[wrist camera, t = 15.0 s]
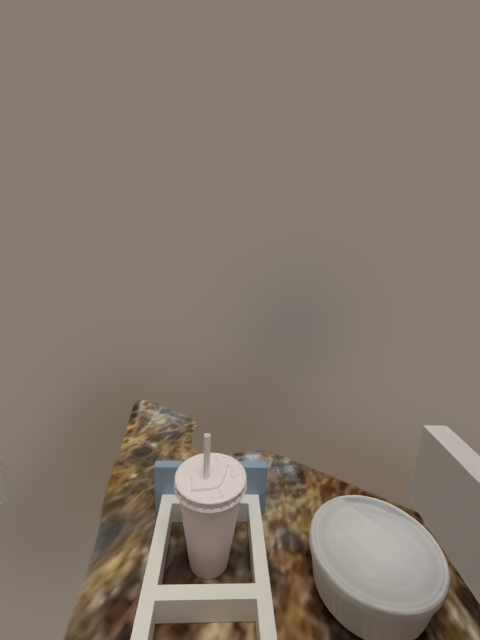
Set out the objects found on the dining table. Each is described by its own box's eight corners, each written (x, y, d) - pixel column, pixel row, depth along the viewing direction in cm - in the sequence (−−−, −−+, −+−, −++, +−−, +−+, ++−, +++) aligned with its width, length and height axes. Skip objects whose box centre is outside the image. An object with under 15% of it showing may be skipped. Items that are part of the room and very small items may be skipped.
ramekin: (422, 551, 35) (432, 509, 33) (455, 689, 25) (472, 637, 23) (309, 522, 38) (314, 482, 36) (297, 635, 27) (303, 585, 26)
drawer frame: (263, 505, 39) (266, 461, 38) (302, 781, 20) (312, 715, 18) (157, 506, 39) (155, 460, 37) (91, 792, 19) (82, 724, 18)
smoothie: (160, 563, 32) (157, 433, 29) (207, 520, 37) (210, 404, 33) (210, 611, 29) (214, 469, 25) (255, 556, 33) (264, 430, 30)
